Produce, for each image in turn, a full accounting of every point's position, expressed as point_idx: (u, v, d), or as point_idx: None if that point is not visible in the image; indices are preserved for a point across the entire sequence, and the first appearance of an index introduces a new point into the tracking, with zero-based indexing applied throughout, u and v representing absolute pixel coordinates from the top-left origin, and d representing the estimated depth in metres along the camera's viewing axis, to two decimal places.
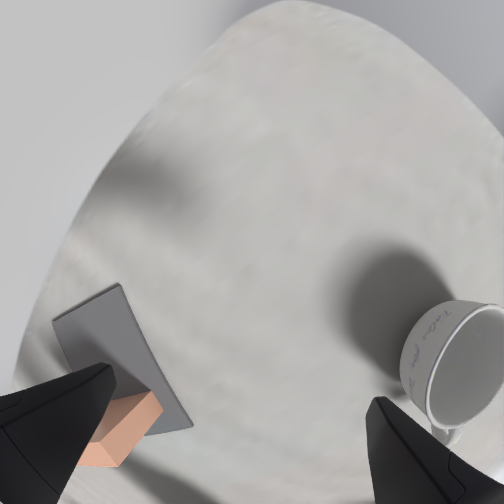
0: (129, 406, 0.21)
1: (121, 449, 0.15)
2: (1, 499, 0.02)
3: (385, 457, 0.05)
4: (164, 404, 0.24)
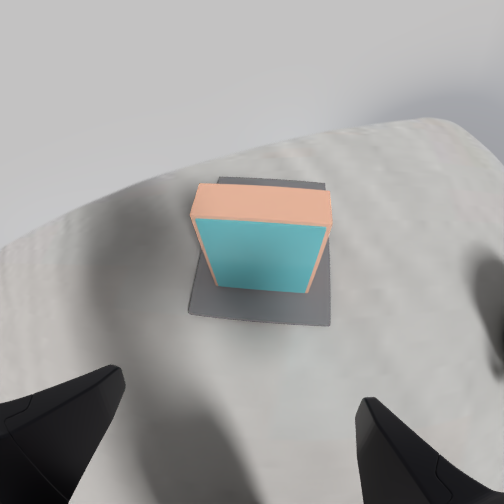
0: None
1: None
2: None
3: (373, 458, 0.05)
4: (313, 286, 0.24)
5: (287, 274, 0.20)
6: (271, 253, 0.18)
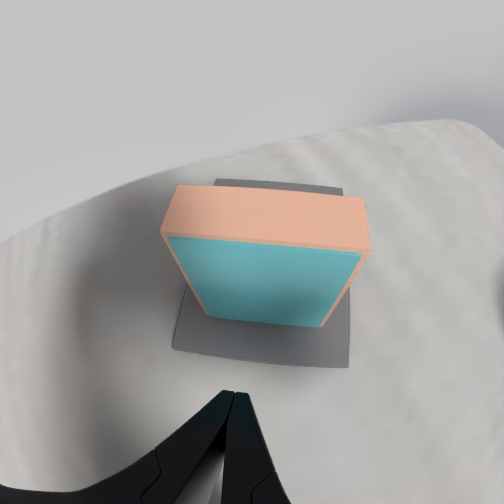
0: None
1: None
2: None
3: None
4: (329, 318, 0.18)
5: (297, 309, 0.15)
6: (278, 285, 0.13)
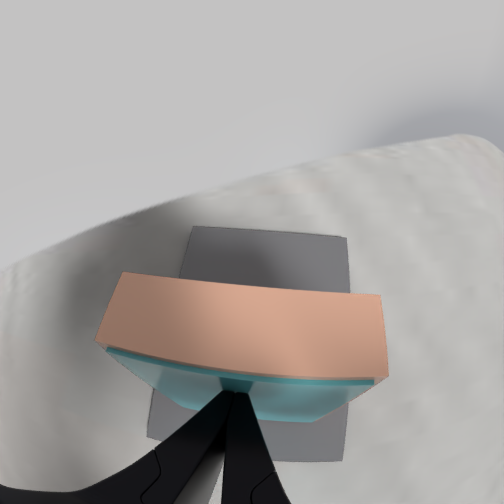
0: None
1: None
2: None
3: None
4: None
5: (286, 414, 0.11)
6: (259, 401, 0.09)
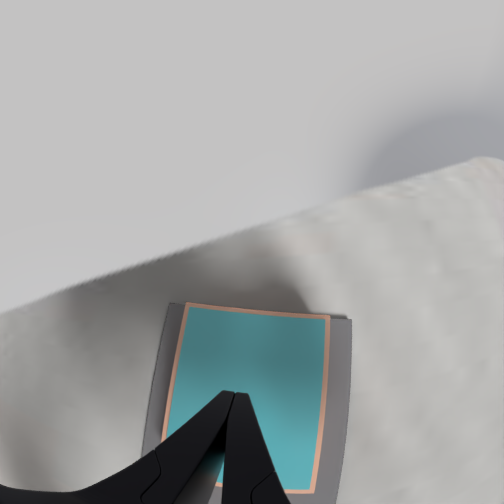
0: None
1: None
2: None
3: None
4: None
5: (281, 431, 0.11)
6: (263, 373, 0.13)
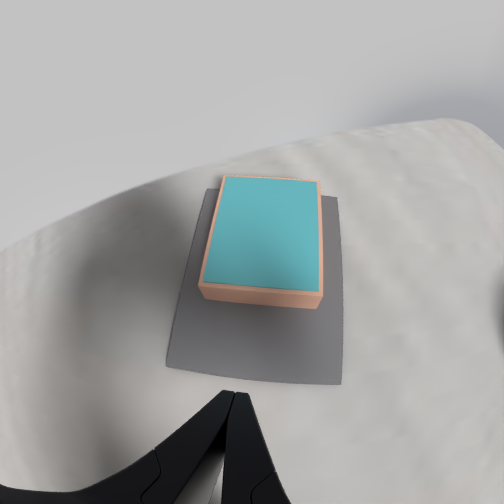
0: None
1: None
2: None
3: None
4: (322, 336, 0.18)
5: (293, 243, 0.19)
6: (278, 208, 0.20)
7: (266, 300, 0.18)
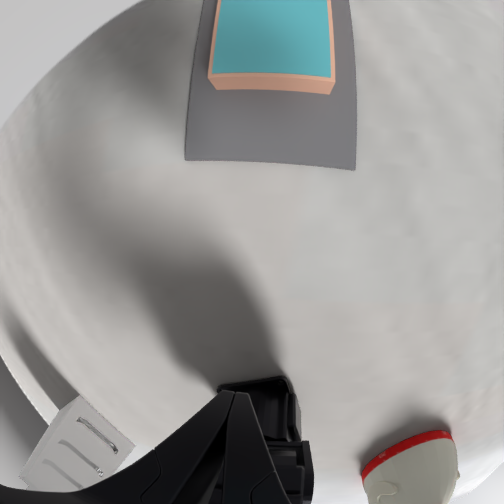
0: None
1: None
2: None
3: None
4: (336, 120, 0.17)
5: (302, 33, 0.13)
6: (284, 2, 0.13)
7: (278, 85, 0.16)
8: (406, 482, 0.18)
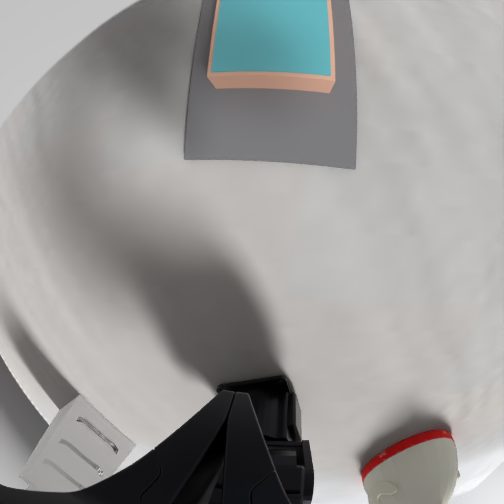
0: None
1: None
2: None
3: None
4: (336, 119, 0.17)
5: (302, 32, 0.13)
6: (283, 1, 0.12)
7: (278, 84, 0.16)
8: (406, 482, 0.18)
